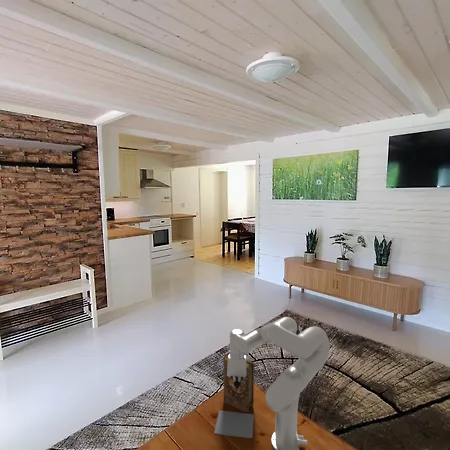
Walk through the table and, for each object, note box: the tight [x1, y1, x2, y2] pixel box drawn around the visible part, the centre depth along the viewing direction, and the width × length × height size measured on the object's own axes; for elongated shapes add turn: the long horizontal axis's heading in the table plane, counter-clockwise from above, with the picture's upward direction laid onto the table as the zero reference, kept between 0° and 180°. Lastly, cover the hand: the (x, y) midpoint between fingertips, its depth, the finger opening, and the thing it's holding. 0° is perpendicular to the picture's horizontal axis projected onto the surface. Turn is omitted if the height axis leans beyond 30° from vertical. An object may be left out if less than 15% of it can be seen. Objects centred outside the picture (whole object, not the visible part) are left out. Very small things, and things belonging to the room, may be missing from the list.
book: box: [223, 353, 255, 414], centre depth 150 cm, size 16×6×25 cm, turn 58°
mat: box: [213, 409, 255, 439], centre depth 138 cm, size 18×14×1 cm
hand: (237, 387), depth 145 cm, fingers closed
